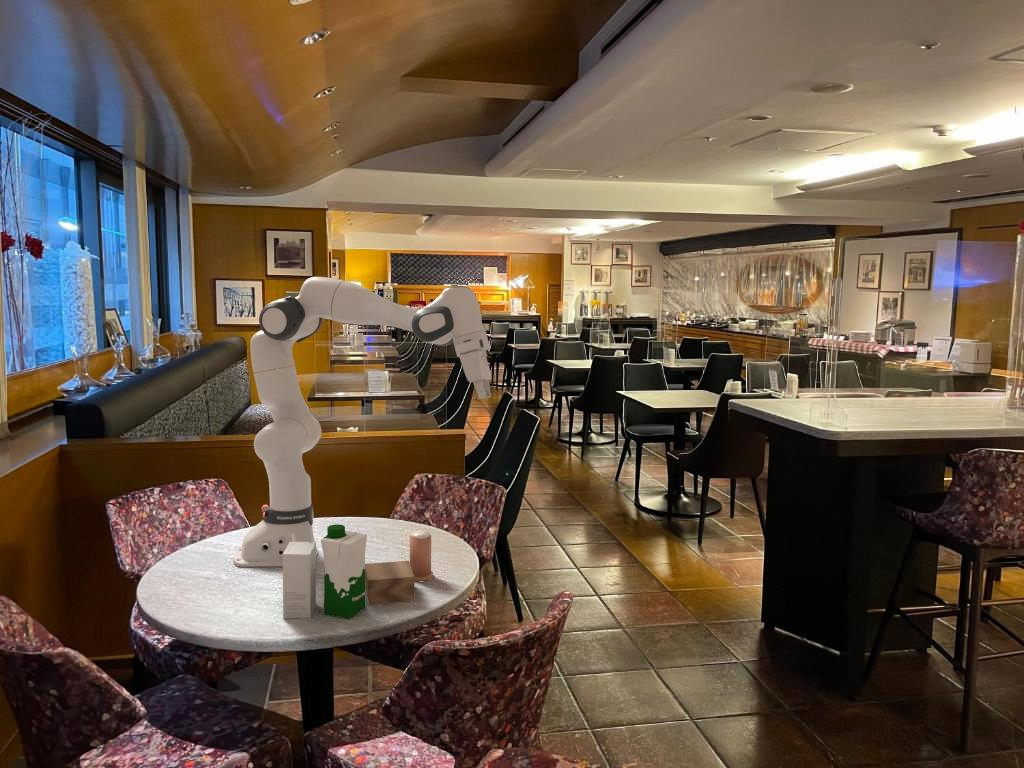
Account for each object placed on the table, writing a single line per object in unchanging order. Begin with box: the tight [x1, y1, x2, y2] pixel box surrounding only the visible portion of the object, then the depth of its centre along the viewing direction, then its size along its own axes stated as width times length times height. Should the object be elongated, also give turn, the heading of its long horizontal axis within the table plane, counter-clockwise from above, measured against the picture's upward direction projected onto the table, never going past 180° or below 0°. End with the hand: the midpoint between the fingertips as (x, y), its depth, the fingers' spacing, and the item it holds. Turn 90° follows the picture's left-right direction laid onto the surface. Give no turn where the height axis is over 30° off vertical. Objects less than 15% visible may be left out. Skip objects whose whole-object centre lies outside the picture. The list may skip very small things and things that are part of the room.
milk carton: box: [320, 523, 368, 620], centre depth 173 cm, size 9×9×20 cm
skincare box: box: [282, 541, 317, 620], centre depth 173 cm, size 8×7×16 cm
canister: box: [409, 530, 434, 583], centre depth 195 cm, size 7×7×12 cm
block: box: [365, 560, 415, 605], centre depth 185 cm, size 11×11×6 cm
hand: (485, 398), depth 193 cm, fingers open, 8 cm apart
